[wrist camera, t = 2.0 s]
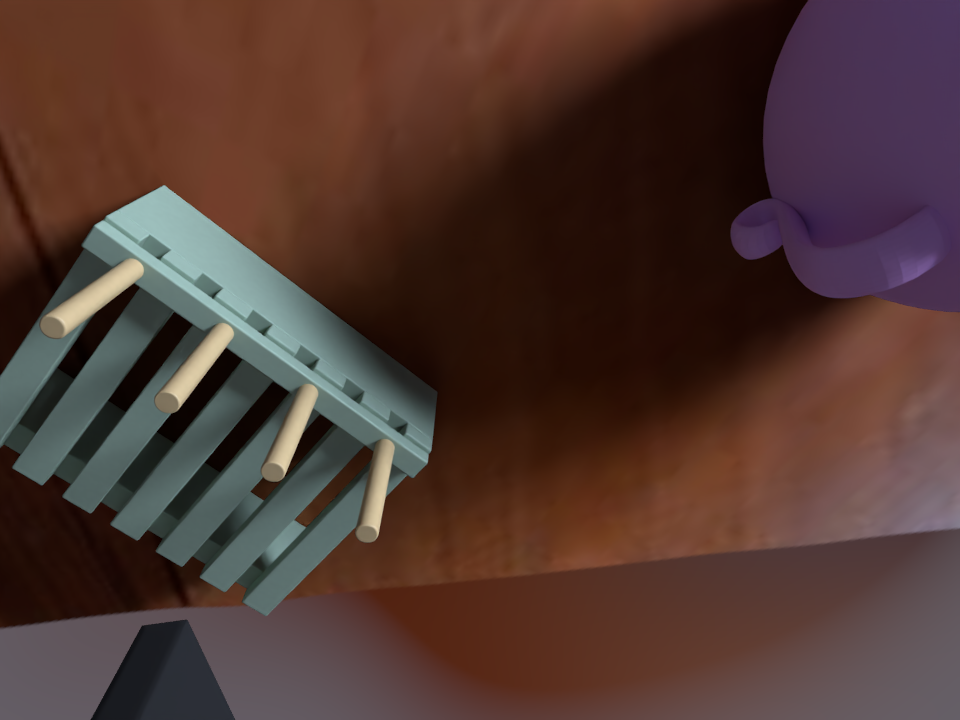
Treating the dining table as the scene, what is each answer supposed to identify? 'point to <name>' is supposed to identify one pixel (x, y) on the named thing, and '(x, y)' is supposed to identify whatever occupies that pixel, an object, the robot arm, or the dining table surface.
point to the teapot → (865, 153)
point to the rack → (211, 403)
